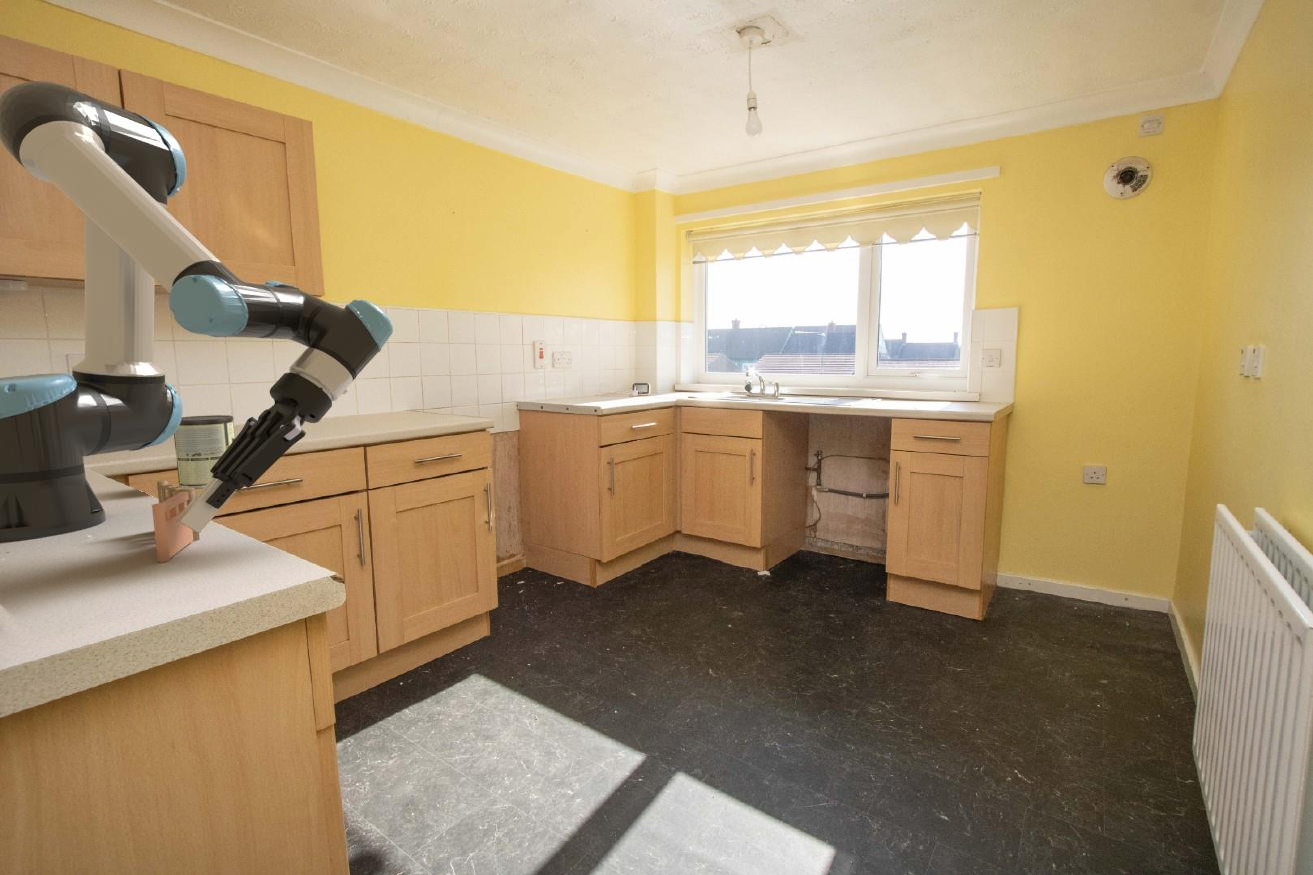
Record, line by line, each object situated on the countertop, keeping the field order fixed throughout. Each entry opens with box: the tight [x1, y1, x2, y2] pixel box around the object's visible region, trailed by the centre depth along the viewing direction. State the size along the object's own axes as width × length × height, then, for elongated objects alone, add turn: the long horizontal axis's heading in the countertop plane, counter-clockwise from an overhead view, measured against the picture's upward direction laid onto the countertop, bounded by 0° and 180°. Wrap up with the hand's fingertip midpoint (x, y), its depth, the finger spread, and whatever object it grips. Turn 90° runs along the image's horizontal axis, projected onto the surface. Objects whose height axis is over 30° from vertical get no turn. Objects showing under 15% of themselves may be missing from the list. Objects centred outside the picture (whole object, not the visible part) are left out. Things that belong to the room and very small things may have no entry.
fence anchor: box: [156, 480, 201, 542], centre depth 88 cm, size 11×2×8 cm, turn 55°
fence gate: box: [151, 492, 194, 563], centre depth 80 cm, size 9×1×7 cm, turn 20°
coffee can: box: [173, 414, 235, 490], centre depth 129 cm, size 10×10×14 cm
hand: (187, 526), depth 79 cm, fingers closed
